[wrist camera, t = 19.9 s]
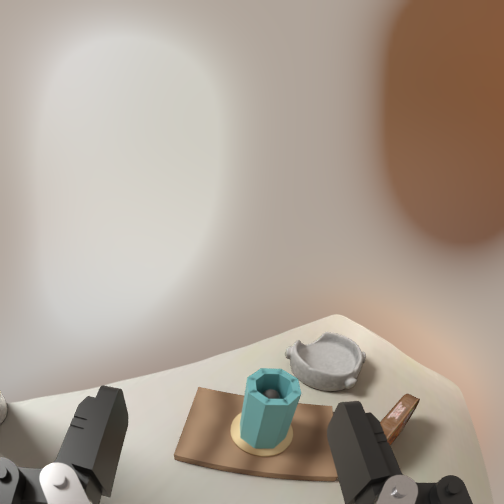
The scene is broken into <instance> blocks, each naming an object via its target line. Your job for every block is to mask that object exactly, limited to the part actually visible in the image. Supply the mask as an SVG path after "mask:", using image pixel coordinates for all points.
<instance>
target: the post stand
mask: <svg viewBox="0 0 504 504" xmlns="http://www.w3.org/2000/svg"><path fill="white" fill-rule="evenodd" d="M262 395H264V396H265V397H267V398H268V399H280V395H279V393H278V392H277V391H276V390H273V389H268V390H266V391H264V392H263V394H262ZM243 402H244V396H243V395H237V394H231V393H226V392H221V391H216V390H211V389H206V388H201V387H198V390H197V393H196V395H195V398H194V401H193V404H192V406H191V409H190V412H189V415H188V417H187V420H186V423H185V426H184V428H183V431H182V434H181V437H180V439H179V442H178V445H177V448H176V450H175V453H174V458H175V460H178V461H182V462H186V463H190V464H195V465H199V466H203V467H208V468H213V469H218V470H223V471H229V472H234V473H240V474H247V475H254V476H262V477H270V478H280V479H292V480H309V481H335V480H336V478H337V477H338V475H337V471H336V468H335V464H334V461H333V457H332V453H331V450H330V446H329V443H328V439H327V428H328V424H329V422H330V420H331V418H332V416H333V411H332V406H323V405H311V404H301V403H298V405H297V408H296V410H295V413H294V416H293V419H292V422H291V424H290V427H289V430H288V432H287V435H286V438H285V439H284V440H283V441H282V442H281V443H279V444H278V445H277V446H276V447H275V448H274V449H255V448H253V447H252V446H250V445H249V444H248V443H247V442H245V441H244V440H243V439H241V438H240V420H241V414H242V408H243Z"/></svg>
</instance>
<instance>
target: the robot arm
mask: <svg viewBox="0 0 504 504" xmlns="http://www.w3.org/2000/svg"><path fill="white" fill-rule="evenodd" d="M6 414H7V403H6V401H5V399H4V397H3V395H2V393H1V391H0V424H1V423H2V422H3V420H4V419H5V417H6ZM127 427H128V412H127V408H126V404H125V400H124V395H123V391H122V389H118V388H113V387H108V386H101V387H100V389H99V391H98V393H97V396H96V398H94V397H90V396H88V397H86V398H85V399H84V400H83V401H82V402H81V403H80V404H79V405H78V407H77V410H76V412H75V414H74V418H73V419H72V421H71V424H70V426H69V429H68V431H67V433H66V436H65V438H64V441H63V443H62V446H61V448H60V451H59V453H58V456H57V458H56V460H55V461H54V462H53V463H51V464H48V465H47V466H45V467H44V468H40V469H36V468H25V467H17V466H16V465H15V464H14V463H13V462H12V461H11V460H10V459H8V458H5V457H0V504H99V503H100V498H101V495H103V496H107V497H110V496H111V491H112V487H113V482H114V478H115V474H116V470H117V466H118V462H119V458H120V454H121V450H122V446H123V442H124V438H125V435H126V431H127ZM327 439H328V443H329V446H330V450H331V453H332V457H333V461H334V464H335V468H336V471H337V475H338V479H339V482H340V486H341V490H342V494H343V497H344V501H345V504H473V503H472V501H471V498H470V496H469V494H468V491H467V489H466V486H465V484H464V482H463V481H462V480H461V479H460V478H459V477H457V476H453V475H448V476H445V477H443V478H442V479H441V480H440V481H439V482H437V483H416V482H415V481H414V480H413V479H411V478H410V477H408V476H405V475H403V474H402V473H401V471H400V468H399V466H398V463H397V461H396V459H395V456H394V454H393V452H392V449H391V447H390V445H389V442H387V438H386V435H385V434H384V431H383V428H382V426H381V424H380V422H379V421H378V419H377V418H376V417H375V416H374V415H373V414H372V413H365V411H364V409H363V407H362V404H361V403H360V402H359V401H352V402H340V403H339V404H338V406H337V408H336V410H335V412H334V414H333V416H332V418H331V420H330V422H329V424H328V428H327Z"/></svg>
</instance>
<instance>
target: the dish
mask: <svg viewBox="0 0 504 504" xmlns="http://www.w3.org/2000/svg"><path fill="white" fill-rule="evenodd" d="M285 356H286V358H288V359H290V366H291V370H292V372H293V374H294V375H295V376H296V377H297V378H298V379H299V380H300V381H301V382H303V383H304V384H306V385H308V386H310V387H313V388H315V389H319V390H325V391H338V390H342V389H345V388H347V389H350V388H352V387H353V386H354V385H355V383H356V382H357V380H356V378H357V376H358V374H359V372H360V369H361V366H362V363H364V362H365V359H366V354H365V352H361V350H360V348H359V346H358V345H357V344H356V343H355V342H354V341H352V340H351V339H349V338H347V337H345V336H342V335H340V334H336V333H331V332H325V333H324V334H323V335H321V336H320V337H319V338H318V339H317V340H316V341H314V342H313V343H311V344H308V345H304V344H302V343H301V341H300V340H298V341H296V342H295V344H294V345H293V346H292V347H291V346H289V347H287V349H286V352H285Z"/></svg>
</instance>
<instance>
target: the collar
mask: <svg viewBox="0 0 504 504" xmlns="http://www.w3.org/2000/svg"><path fill="white" fill-rule="evenodd" d="M268 389H273V390H276V391H277V392H278V393H279V395H280V399H268V398H267V397H265V396H264V395H262V394H263V392H264V391H266V390H268ZM300 396H301V390H300V386H299V382H298V379H297V378H296V377H294V376H292V375H291V374H289V373H287V372H286V371H284V370H282V369H267V368H262V369H260V370H258V371H257V372H255V373H254V374H252V375H251V376H249V377H248V378H247V383H246V390H245V396H244V402H243V408H242V414H241V420H240V438H241V439H243V440H244V441H245V442H247V443H248V444H249V445H250V446H252V447H253V448H255V449H274V448H275V447H276V446H277V445H278V444H279V443H281V442H282V441H283V440H284V439H285V438H286V435H287V432H288V430H289V427H290V424H291V422H292V419H293V416H294V413H295V410H296V408H297V405H298V402H299V399H300Z"/></svg>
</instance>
